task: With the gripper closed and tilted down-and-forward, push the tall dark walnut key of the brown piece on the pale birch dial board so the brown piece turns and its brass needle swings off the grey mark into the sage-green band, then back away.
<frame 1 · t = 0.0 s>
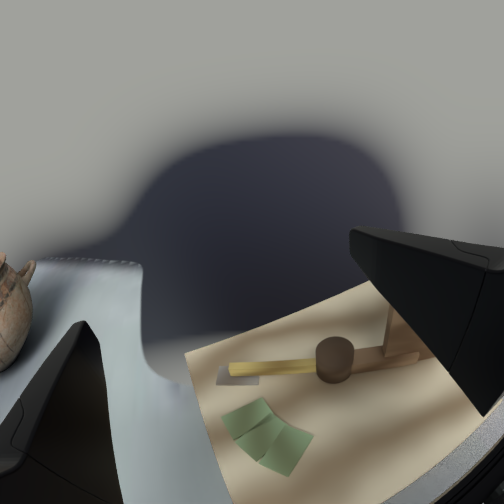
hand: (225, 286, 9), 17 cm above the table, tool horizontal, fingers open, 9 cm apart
brown piece: (342, 326, 20), point 6 cm above the table, hinge at 0.0°
cooking pot: (5, 357, 31), on the table
dial board: (337, 395, 22), on the table
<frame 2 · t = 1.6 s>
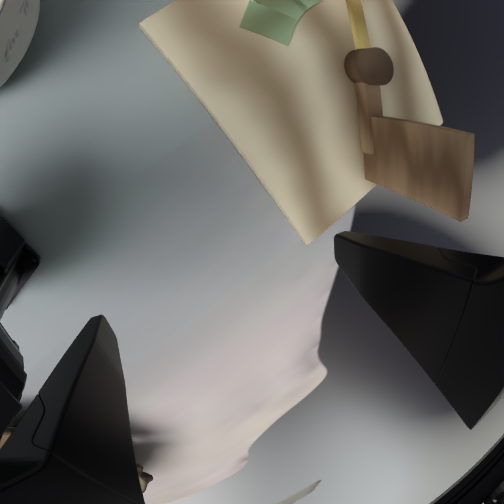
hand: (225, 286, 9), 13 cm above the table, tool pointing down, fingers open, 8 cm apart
brown piece: (406, 72, 15), point 6 cm above the table, hinge at 0.0°
dial board: (331, 70, 20), on the table
oil lamp: (43, 445, 26), on the table
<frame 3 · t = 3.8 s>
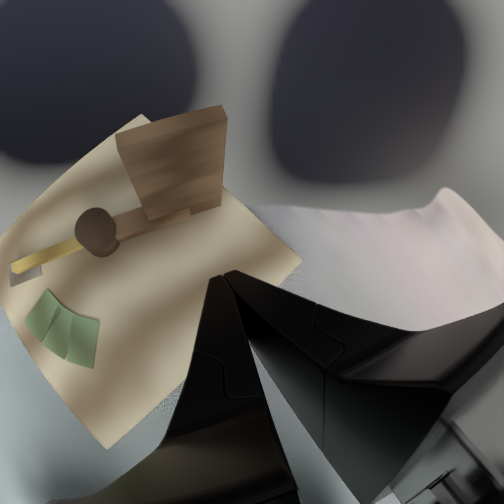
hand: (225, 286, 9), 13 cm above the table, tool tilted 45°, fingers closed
brown piece: (85, 208, 17), point 6 cm above the table, hinge at 0.0°
dial board: (114, 265, 22), on the table
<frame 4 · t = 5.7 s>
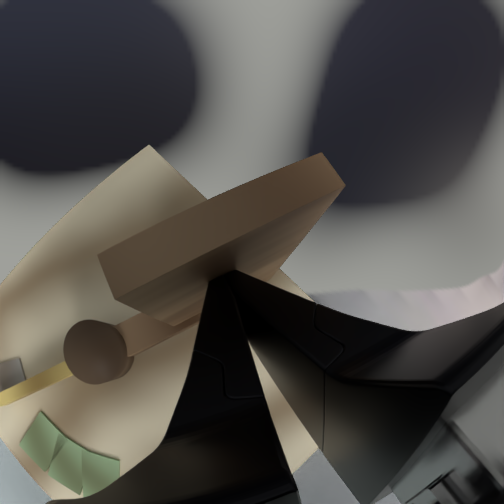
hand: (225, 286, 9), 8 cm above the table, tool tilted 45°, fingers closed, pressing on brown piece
brown piece: (74, 347, 9), point 6 cm above the table, hinge at 8.5°, touching gripper
dial board: (128, 383, 15), on the table
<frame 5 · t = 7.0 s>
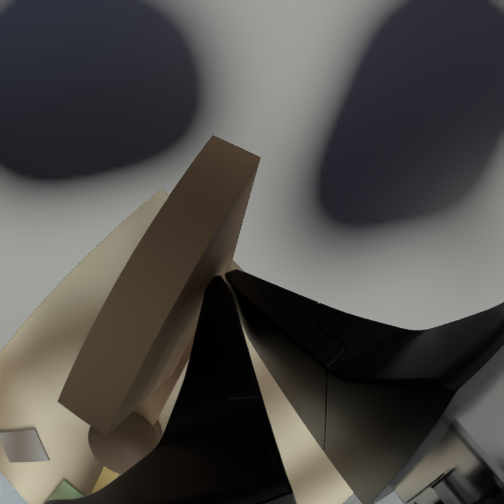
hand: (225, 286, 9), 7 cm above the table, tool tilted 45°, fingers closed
brown piece: (104, 458, 7), point 6 cm above the table, hinge at 42.3°, touching gripper
dial board: (154, 454, 13), on the table
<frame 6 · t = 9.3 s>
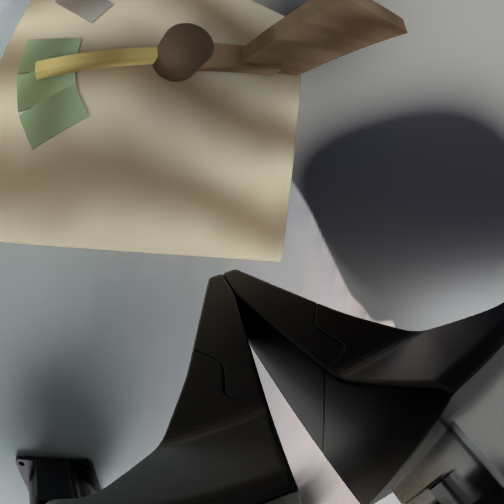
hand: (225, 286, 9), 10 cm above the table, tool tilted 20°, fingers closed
brown piece: (218, 21, 11), point 6 cm above the table, hinge at 42.4°
dial board: (153, 89, 16), on the table
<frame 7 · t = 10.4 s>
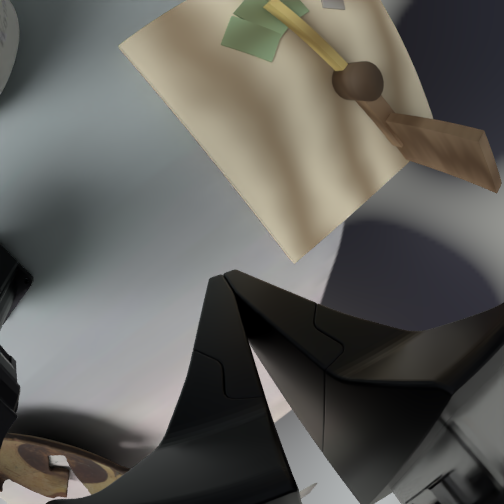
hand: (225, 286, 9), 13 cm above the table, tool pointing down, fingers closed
brown piece: (398, 86, 15), point 6 cm above the table, hinge at 42.4°
dial board: (319, 84, 20), on the table
oil lamp: (42, 449, 27), on the table
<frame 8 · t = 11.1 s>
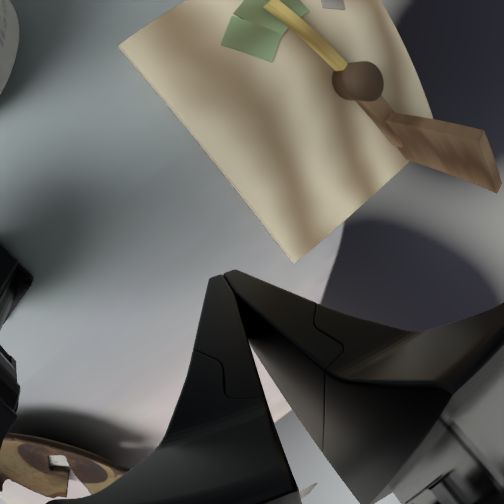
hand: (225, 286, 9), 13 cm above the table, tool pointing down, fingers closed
brown piece: (398, 86, 15), point 6 cm above the table, hinge at 42.4°
dial board: (319, 84, 20), on the table
oil lamp: (42, 449, 27), on the table
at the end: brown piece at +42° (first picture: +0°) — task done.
